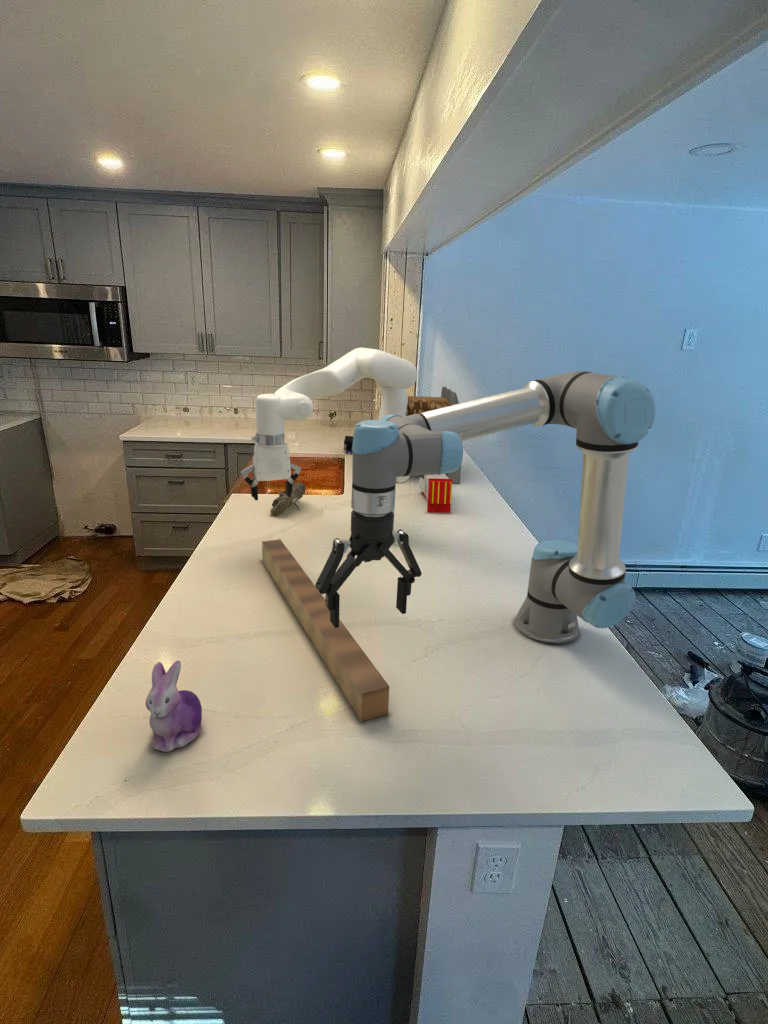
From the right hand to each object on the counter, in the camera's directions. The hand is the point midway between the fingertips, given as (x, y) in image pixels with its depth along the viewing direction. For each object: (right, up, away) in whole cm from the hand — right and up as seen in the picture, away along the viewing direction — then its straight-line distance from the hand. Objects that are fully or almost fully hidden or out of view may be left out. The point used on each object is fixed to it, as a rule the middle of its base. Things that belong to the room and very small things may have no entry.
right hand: (368, 617), depth 106 cm
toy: (+24, +24, +129) cm, 133 cm away
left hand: (-30, +24, +58) cm, 69 cm away
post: (-15, -8, +36) cm, 40 cm away
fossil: (-34, +21, +114) cm, 120 cm away
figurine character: (-16, +53, +203) cm, 210 cm away
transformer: (+20, +39, +169) cm, 174 cm away
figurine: (-35, -21, -3) cm, 41 cm away
